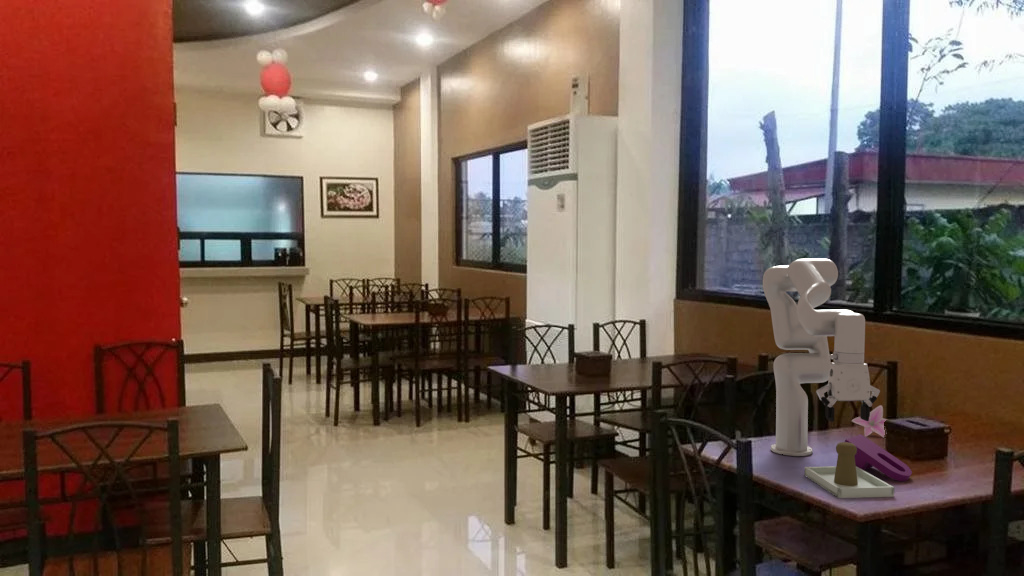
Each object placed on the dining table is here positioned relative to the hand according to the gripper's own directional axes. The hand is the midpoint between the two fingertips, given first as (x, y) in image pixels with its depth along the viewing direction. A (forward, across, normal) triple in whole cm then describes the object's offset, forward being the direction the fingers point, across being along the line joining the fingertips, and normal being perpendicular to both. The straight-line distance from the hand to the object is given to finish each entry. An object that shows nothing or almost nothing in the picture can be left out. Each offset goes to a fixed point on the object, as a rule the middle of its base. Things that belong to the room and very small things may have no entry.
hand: (847, 420), depth 208 cm
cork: (+17, 0, -1) cm, 17 cm away
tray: (+18, 0, -1) cm, 18 cm away
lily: (+20, +37, +55) cm, 69 cm away
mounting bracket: (+19, +14, +10) cm, 25 cm away
